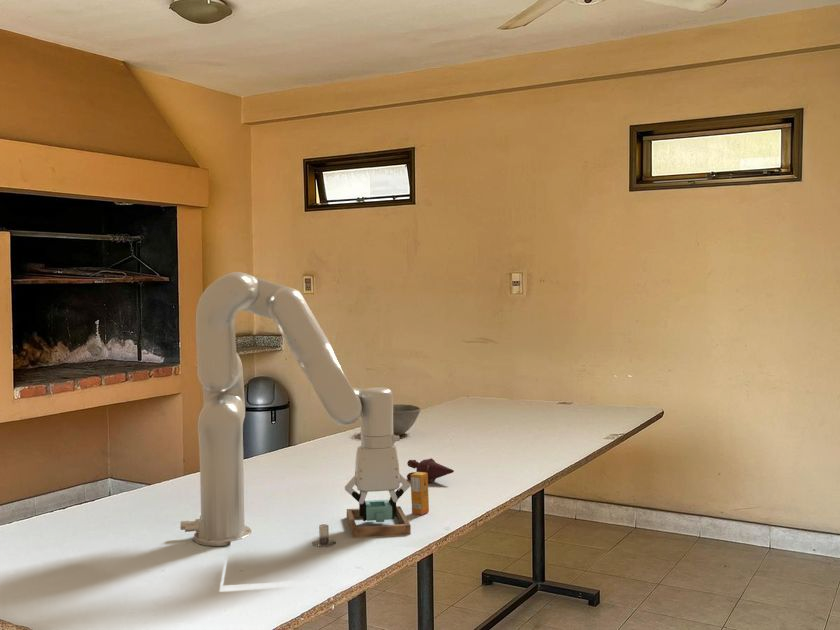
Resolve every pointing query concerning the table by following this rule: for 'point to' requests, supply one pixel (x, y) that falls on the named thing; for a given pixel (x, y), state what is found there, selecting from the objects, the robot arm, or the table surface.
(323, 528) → the grey metallic peg stand
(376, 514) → the teal tabbed square frame
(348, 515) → the tray
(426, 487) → the supplement box
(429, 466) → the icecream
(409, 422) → the bowl
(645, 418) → the table surface
